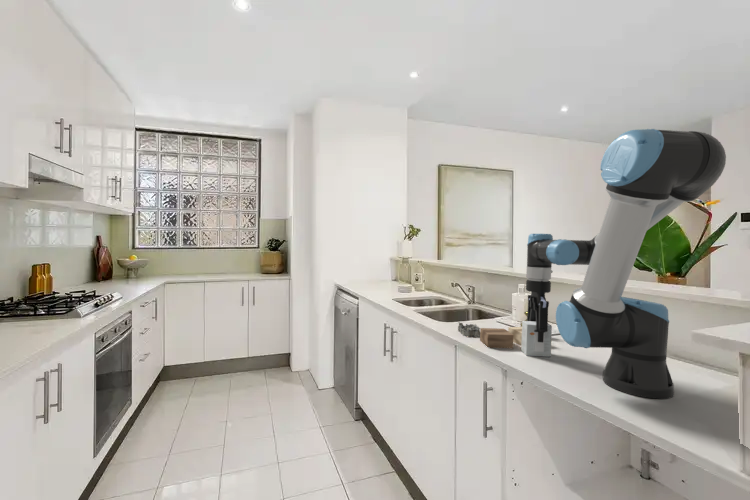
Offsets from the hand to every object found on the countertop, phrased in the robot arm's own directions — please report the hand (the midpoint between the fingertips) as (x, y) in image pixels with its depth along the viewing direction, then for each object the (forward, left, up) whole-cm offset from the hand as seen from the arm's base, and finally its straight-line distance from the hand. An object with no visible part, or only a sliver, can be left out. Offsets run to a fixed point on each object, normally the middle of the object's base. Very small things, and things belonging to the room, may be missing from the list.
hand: (535, 348), depth 121 cm
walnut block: (+9, +11, -2) cm, 14 cm away
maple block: (+14, -1, -2) cm, 14 cm away
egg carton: (+23, +19, -2) cm, 30 cm away
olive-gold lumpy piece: (+26, -6, -2) cm, 27 cm away
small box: (0, 0, -2) cm, 2 cm away
